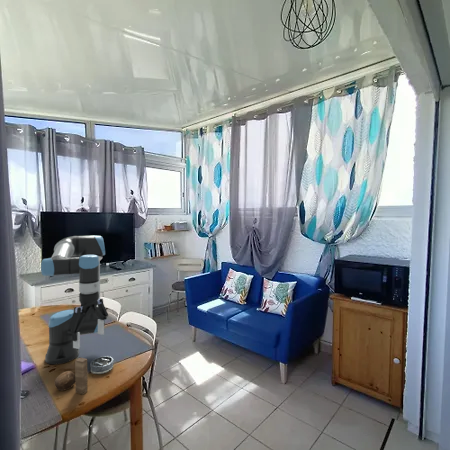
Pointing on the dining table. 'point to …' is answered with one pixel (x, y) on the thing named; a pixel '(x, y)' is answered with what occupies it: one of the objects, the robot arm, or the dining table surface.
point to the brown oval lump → (65, 380)
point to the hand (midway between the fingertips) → (89, 340)
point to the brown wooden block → (81, 375)
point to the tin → (101, 365)
